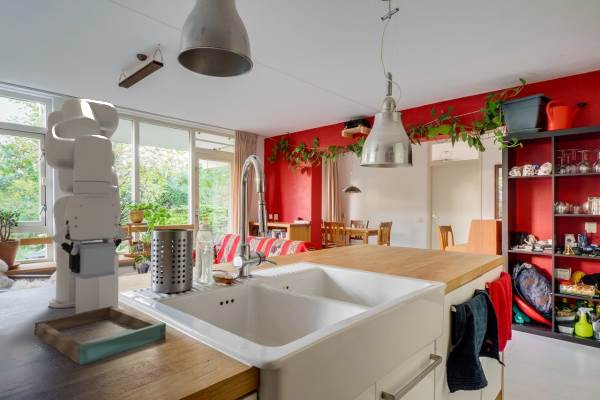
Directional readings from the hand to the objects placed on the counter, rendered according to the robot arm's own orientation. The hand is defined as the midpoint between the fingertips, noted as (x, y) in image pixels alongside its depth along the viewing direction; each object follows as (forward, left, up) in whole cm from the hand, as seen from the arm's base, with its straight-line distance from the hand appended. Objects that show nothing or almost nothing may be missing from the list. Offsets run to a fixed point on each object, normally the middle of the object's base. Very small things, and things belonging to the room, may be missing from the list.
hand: (92, 269), depth 77 cm
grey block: (0, 0, -1) cm, 1 cm away
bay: (+4, 0, -14) cm, 15 cm away
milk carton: (-15, +7, -14) cm, 22 cm away
